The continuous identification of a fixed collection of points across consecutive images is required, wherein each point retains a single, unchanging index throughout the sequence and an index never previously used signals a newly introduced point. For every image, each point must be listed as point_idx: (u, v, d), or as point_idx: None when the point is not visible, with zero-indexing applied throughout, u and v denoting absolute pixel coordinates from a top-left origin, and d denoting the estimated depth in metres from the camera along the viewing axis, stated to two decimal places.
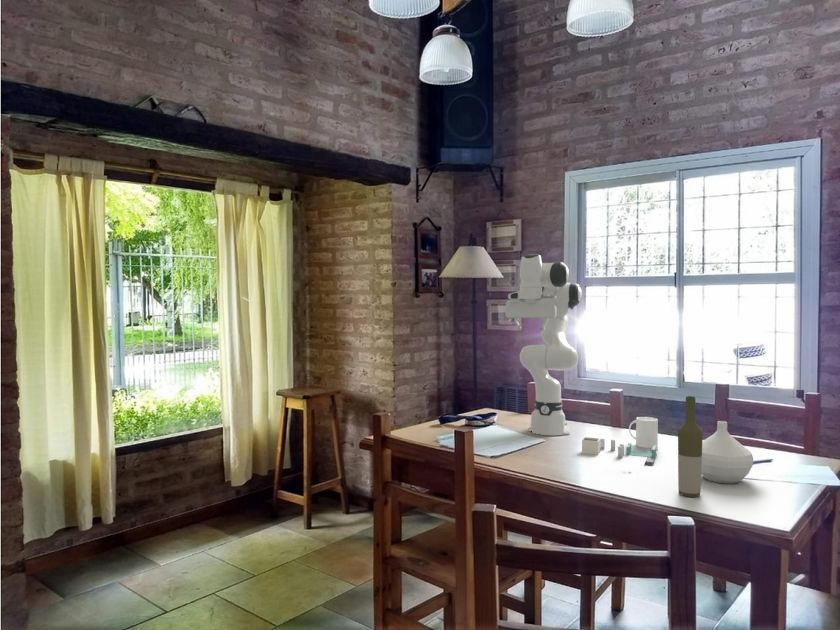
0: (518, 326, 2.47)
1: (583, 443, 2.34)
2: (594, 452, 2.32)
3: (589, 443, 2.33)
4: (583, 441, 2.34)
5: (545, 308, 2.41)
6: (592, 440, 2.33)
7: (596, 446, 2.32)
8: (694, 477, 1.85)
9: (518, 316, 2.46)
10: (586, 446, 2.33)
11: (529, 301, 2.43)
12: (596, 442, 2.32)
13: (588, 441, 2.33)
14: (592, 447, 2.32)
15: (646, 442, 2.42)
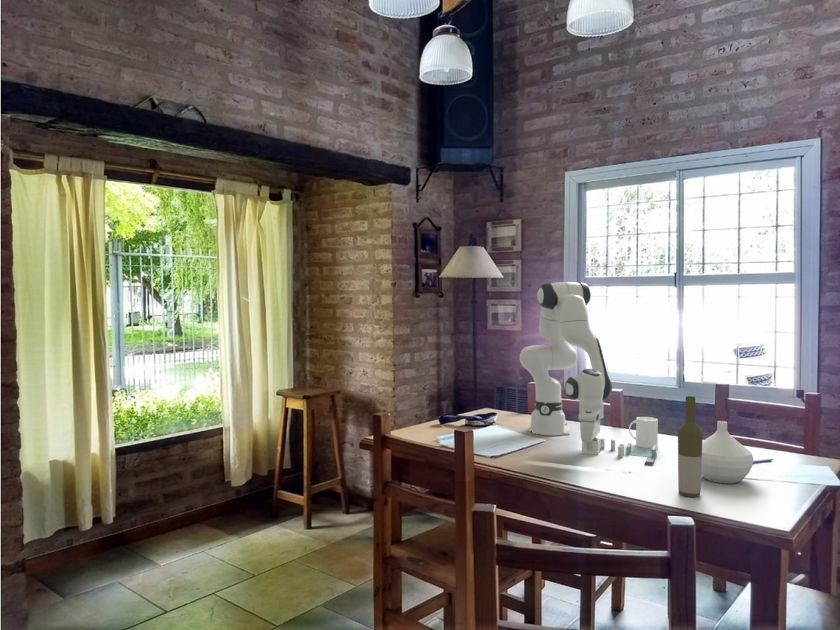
0: None
1: (583, 443, 2.34)
2: (594, 452, 2.32)
3: None
4: None
5: (598, 424, 2.39)
6: (592, 440, 2.33)
7: (596, 446, 2.32)
8: (694, 477, 1.85)
9: (593, 438, 2.30)
10: (586, 446, 2.33)
11: (599, 420, 2.33)
12: (596, 442, 2.32)
13: None
14: (592, 447, 2.32)
15: (646, 442, 2.42)
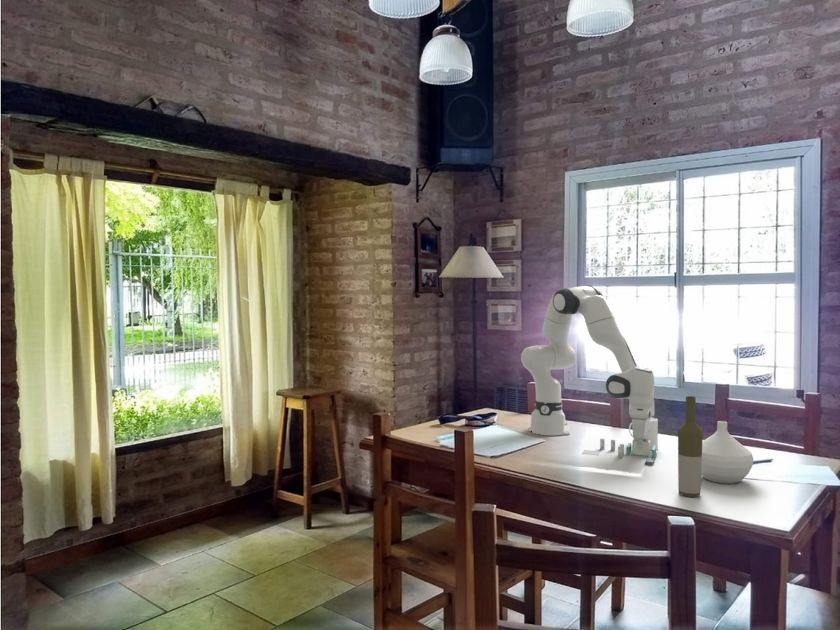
0: (642, 446, 2.28)
1: (634, 444, 2.32)
2: (645, 453, 2.30)
3: None
4: (634, 442, 2.32)
5: (647, 421, 2.37)
6: (643, 441, 2.31)
7: (647, 447, 2.30)
8: (694, 477, 1.85)
9: (645, 435, 2.28)
10: None
11: None
12: (647, 443, 2.30)
13: None
14: (643, 448, 2.30)
15: None
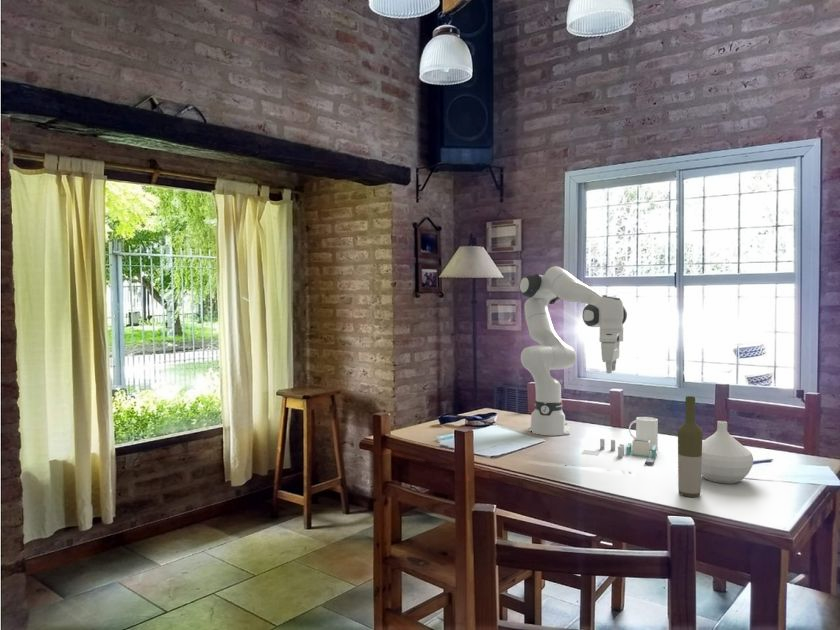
0: (611, 370, 2.37)
1: (634, 444, 2.32)
2: (645, 453, 2.30)
3: (640, 444, 2.31)
4: (634, 442, 2.32)
5: (618, 349, 2.46)
6: (643, 441, 2.31)
7: (647, 447, 2.30)
8: (694, 477, 1.85)
9: (614, 359, 2.36)
10: (637, 447, 2.31)
11: (619, 343, 2.40)
12: (647, 443, 2.30)
13: (639, 442, 2.31)
14: (643, 448, 2.30)
15: None
